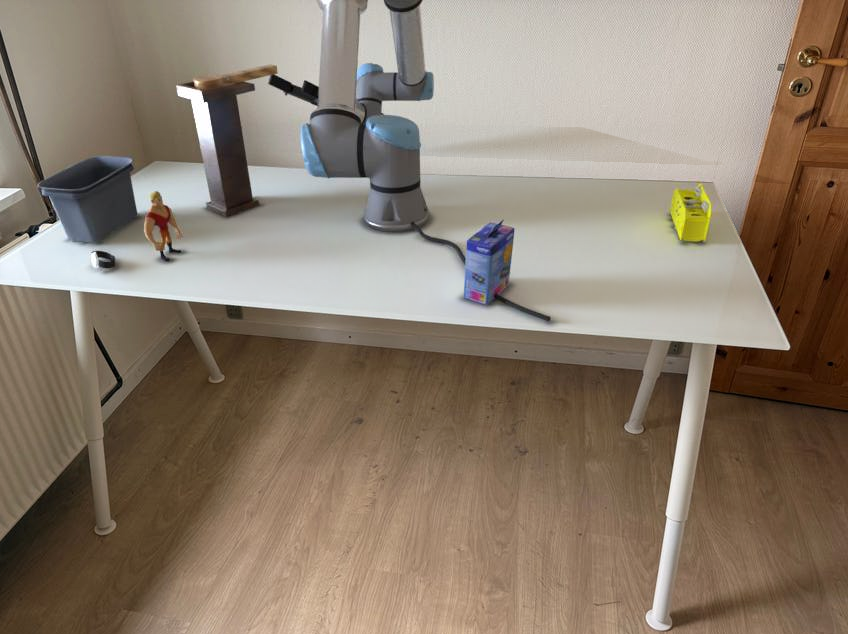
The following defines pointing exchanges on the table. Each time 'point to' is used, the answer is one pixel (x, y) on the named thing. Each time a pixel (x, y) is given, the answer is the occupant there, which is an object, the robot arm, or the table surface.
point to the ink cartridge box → (488, 262)
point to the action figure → (160, 224)
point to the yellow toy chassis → (691, 213)
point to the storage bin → (93, 197)
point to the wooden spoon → (233, 77)
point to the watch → (102, 264)
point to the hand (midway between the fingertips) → (286, 82)
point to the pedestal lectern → (222, 145)
